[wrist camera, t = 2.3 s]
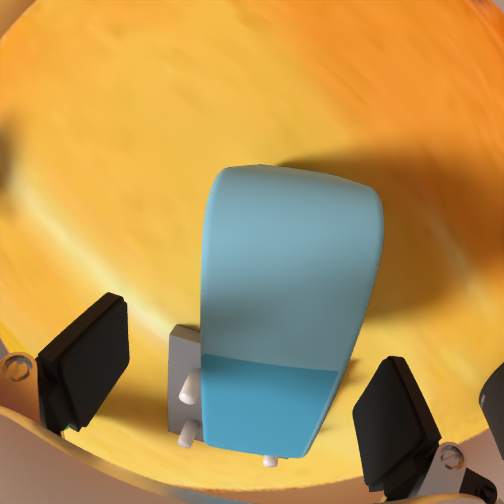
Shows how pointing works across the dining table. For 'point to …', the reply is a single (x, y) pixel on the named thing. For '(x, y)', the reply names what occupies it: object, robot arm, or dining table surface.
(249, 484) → the dining table surface
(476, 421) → the dining table surface
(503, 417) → the pen holder
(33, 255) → the dining table surface
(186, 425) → the pin tray
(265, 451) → the blue rounded block
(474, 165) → the dining table surface
